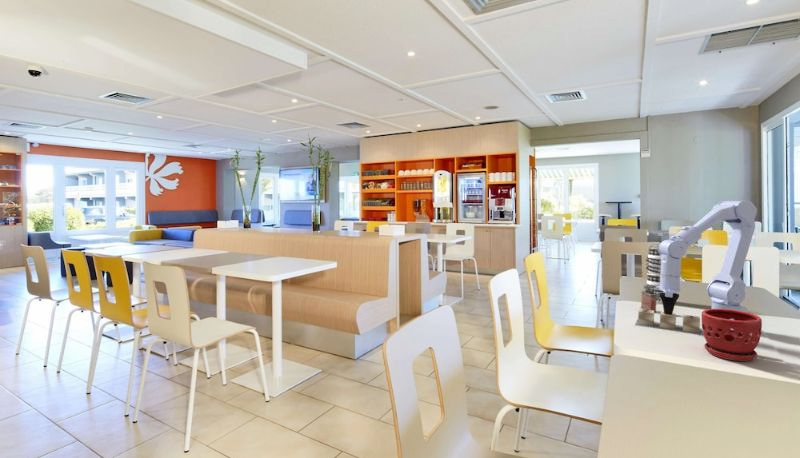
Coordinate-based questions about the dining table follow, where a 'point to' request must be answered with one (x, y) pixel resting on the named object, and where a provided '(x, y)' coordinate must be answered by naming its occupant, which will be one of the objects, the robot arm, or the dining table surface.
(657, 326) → the felt strip
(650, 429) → the dining table surface
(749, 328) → the plant pot
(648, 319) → the block seven
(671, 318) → the plain block
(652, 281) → the decorative candle
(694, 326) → the block one
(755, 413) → the dining table surface
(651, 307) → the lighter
